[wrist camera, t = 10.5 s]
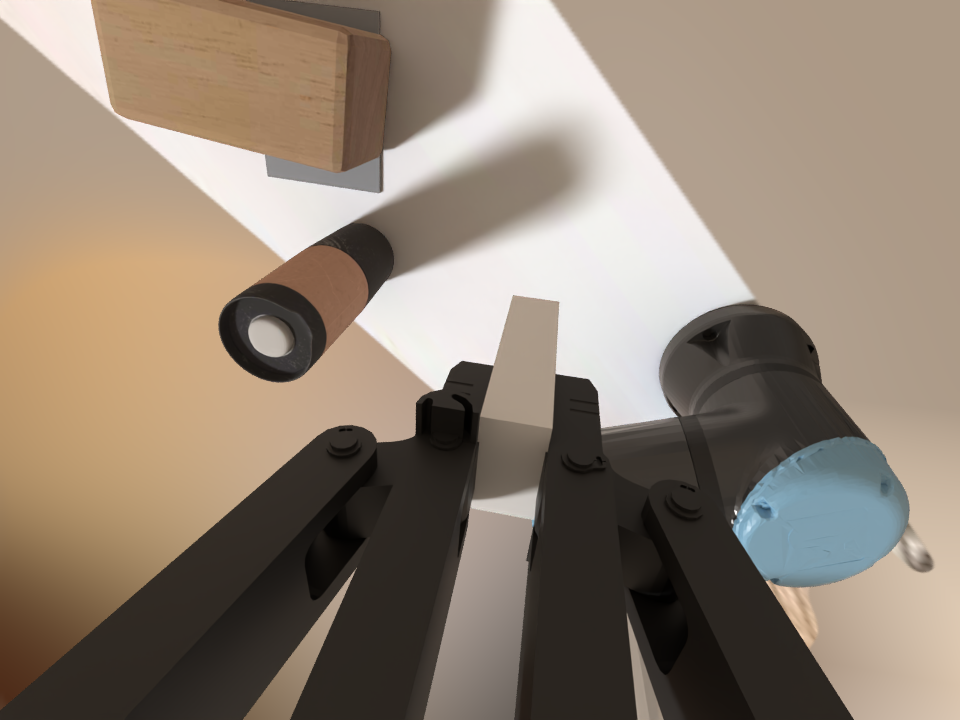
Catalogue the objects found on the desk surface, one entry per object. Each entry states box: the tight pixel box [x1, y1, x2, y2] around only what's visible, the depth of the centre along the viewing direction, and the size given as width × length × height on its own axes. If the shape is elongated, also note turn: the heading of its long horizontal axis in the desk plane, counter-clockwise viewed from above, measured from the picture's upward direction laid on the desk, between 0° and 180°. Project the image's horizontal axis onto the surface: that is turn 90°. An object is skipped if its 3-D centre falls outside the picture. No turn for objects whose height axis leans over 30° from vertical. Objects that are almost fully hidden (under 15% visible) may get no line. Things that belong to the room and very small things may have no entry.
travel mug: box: [218, 224, 394, 382], centre depth 44 cm, size 8×8×20 cm
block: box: [91, 0, 391, 173], centre depth 39 cm, size 10×10×20 cm
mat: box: [246, 0, 380, 193], centre depth 45 cm, size 12×15×1 cm
